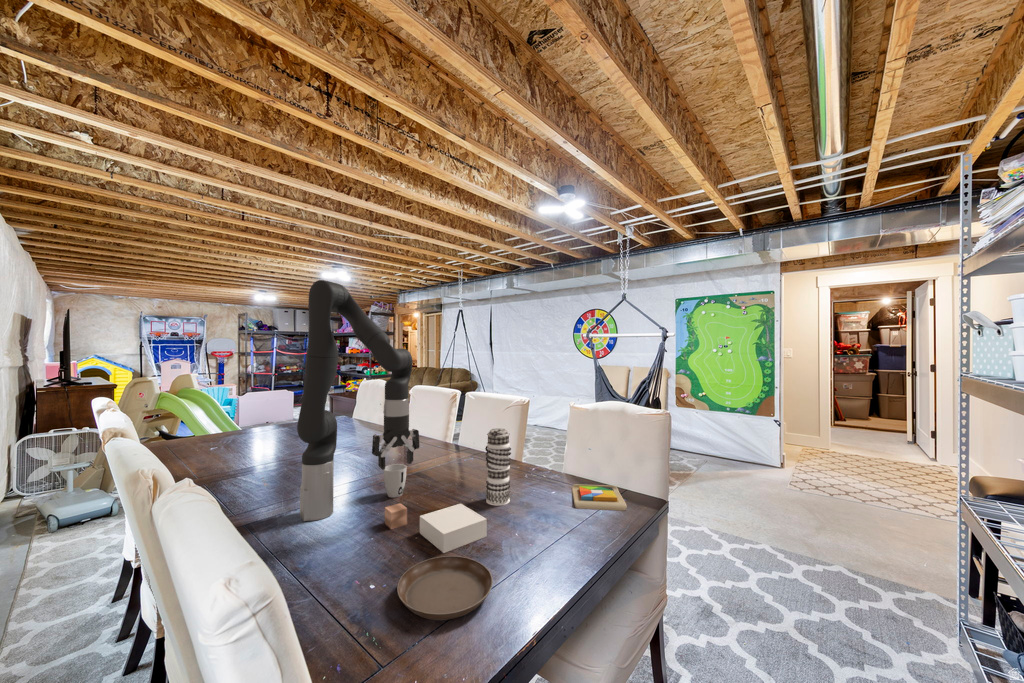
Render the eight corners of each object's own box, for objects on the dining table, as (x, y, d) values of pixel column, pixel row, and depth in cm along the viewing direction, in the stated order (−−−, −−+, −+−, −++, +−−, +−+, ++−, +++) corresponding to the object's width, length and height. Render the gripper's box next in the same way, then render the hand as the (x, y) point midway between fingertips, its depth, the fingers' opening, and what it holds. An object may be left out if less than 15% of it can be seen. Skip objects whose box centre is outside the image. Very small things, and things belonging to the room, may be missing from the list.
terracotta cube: (391, 529, 115) (391, 512, 115) (384, 523, 119) (384, 507, 119) (407, 524, 118) (407, 508, 118) (400, 518, 122) (400, 503, 122)
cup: (402, 499, 137) (402, 471, 137) (380, 499, 137) (380, 471, 137) (409, 490, 145) (409, 464, 145) (387, 490, 145) (388, 463, 145)
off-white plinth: (443, 553, 102) (443, 534, 102) (419, 533, 113) (419, 515, 113) (486, 536, 111) (486, 519, 111) (460, 519, 122) (460, 503, 122)
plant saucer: (493, 567, 96) (493, 554, 96) (491, 628, 75) (491, 611, 75) (409, 568, 95) (409, 555, 95) (384, 631, 75) (385, 613, 75)
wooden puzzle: (617, 491, 147) (617, 481, 147) (627, 512, 128) (627, 502, 128) (571, 489, 149) (571, 480, 149) (574, 510, 130) (574, 499, 130)
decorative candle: (488, 507, 131) (488, 433, 131) (482, 497, 140) (483, 427, 140) (513, 504, 133) (514, 432, 133) (507, 494, 142) (507, 426, 142)
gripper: (378, 417, 111) (378, 474, 111) (423, 412, 121) (423, 464, 120) (369, 414, 117) (368, 467, 117) (412, 409, 126) (412, 458, 126)
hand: (396, 466), depth 119 cm, fingers open, 8 cm apart
